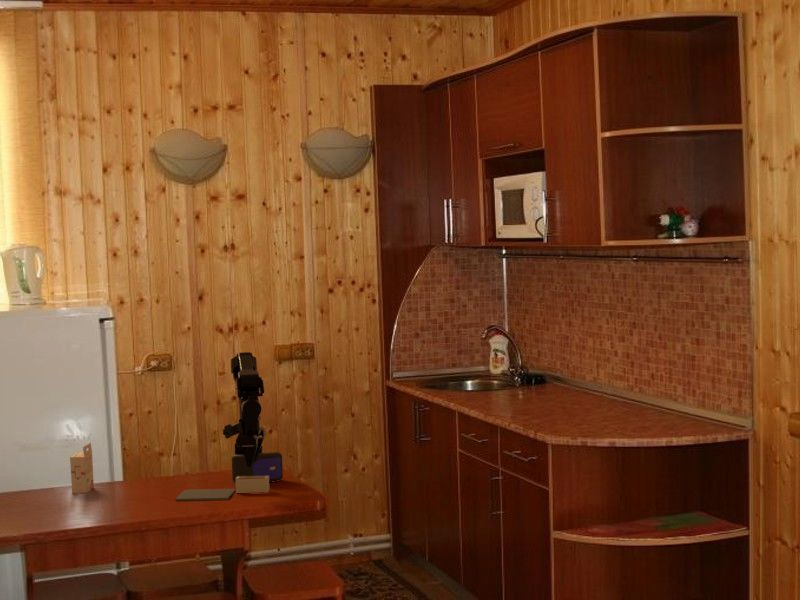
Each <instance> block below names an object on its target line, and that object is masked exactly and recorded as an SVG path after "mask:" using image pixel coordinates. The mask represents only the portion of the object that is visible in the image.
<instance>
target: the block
mask: <svg viewBox="0 0 800 600" xmlns="http://www.w3.org/2000/svg"><path fill="white" fill-rule="evenodd" d="M235 479H236V483H235V494H236V493H246V492H247V493H248V492H249V493H251V492H268V491H269V490H270V483H269V476H237V477H236V478H235ZM269 492H270V491H269ZM251 494H252V493H251Z"/></svg>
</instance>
